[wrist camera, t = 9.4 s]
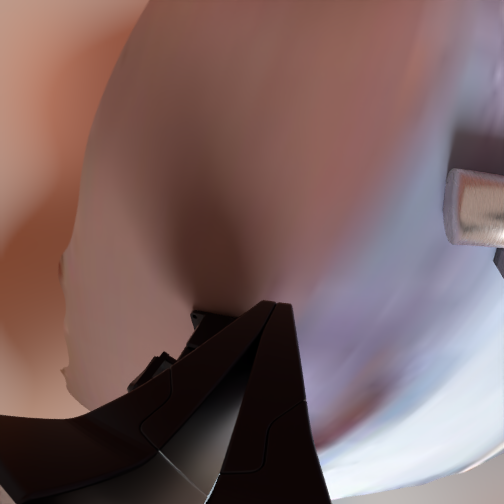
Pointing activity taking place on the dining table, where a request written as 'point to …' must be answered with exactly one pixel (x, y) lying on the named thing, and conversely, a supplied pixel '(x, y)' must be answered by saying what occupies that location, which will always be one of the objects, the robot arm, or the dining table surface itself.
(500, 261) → the collar rig
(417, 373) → the dining table surface
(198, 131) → the dining table surface
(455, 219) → the tube
